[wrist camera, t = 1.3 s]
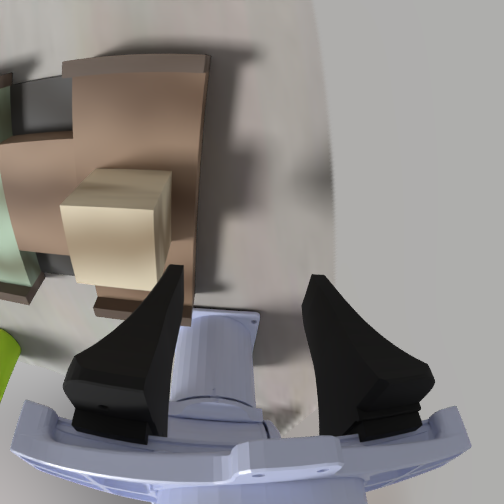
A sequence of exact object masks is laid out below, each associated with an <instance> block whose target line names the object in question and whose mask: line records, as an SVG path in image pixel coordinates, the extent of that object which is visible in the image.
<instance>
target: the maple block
mask: <svg viewBox="0 0 504 504" xmlns="http://www.w3.org/2000/svg"><path fill="white" fill-rule="evenodd" d="M171 191H172V171H161V170H138V169H95V170H94V171H93V172H92V173H91V174H90V175H89V176H87V177H86V178H85V179H84V180H83V181H82V182H81V184H80V185H79V186H78V187H77V188H76V189H75V190H74V191H73V192H72V193H71V194H70V195H69V196H68V197H67V198H66V199H65V200H64V201H63V202H62V203H61V205H60V210H61V216H62V221H63V226H64V231H65V236H66V241H67V245H68V250H69V254H70V258H71V262H72V266H73V270H74V274H75V278H76V281H77V283H81V284H90V285H98V286H107V287H116V288H125V289H135V290H145V291H151V290H152V289H153V288H154V286H155V285H156V284H157V282H158V281H159V279H160V278H161V277H162V274H163V270H164V266H165V263H166V259H167V255H168V252H169V248H170V244H171Z"/></svg>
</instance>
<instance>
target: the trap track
mask: <svg viewBox="0 0 504 504" xmlns="http://www.w3.org/2000/svg"><path fill="white" fill-rule="evenodd" d="M210 60H211V56H209V55H201V54H132V55H116V56H104V57H94V58H85V59H77V60H70V61H64V62H62V76H59V77H52V78H46V79H40V80H35V81H29V82H24V83H20V84H15V85H12V73H9V74H5V75H1V76H0V299H2V300H6V301H11V302H16V303H21V304H26V305H30V303H31V301H32V299H33V298H34V296H35V294H36V292H37V291H38V289H39V287H40V286H41V284H42V282H43V281H44V279H45V276H44V273H43V272H47V273H55V274H63V275H72V276H75V274H74V270H73V266H72V262H71V258H70V254H69V250H68V245H67V241H66V236H65V231H64V226H63V221H62V216H61V210H60V205H61V203H62V202H63V201H64V200H65V199H66V198H67V197H68V196H69V195H70V194H71V193H72V192H73V191H74V190H75V189H76V188H77V187H78V186H79V185H80V184H81V182H82V181H83V180H84V179H85V178H86V177H87V176H89V175H90V174H91V173H92V172H93V171H94V170H95V169H138V170H161V171H172V191H171V244H170V248H169V252H168V255H167V259H166V263H165V266H164V270H163V273H164V272H165V270H166V268H167V267H168V266H169V265H170V264H175V265H184V305H183V314H182V321H181V325H180V326H188V327H191V321H192V312H193V304H194V296H195V260H196V233H197V212H198V194H199V178H200V163H201V150H202V138H203V126H204V116H205V105H206V96H207V86H208V77H209V69H210ZM162 275H163V274H162ZM95 287H96V291H97V295H98V297H97V300H96V302H95V305H94V307H93V309H94V312H95V315H96V316H98V317H105V318H112V319H120V320H126V319H127V318H128V317H129V316H130V315H131V314H132V313H133V312H134V311H135V310H136V309H137V307H138V306H139V305H140V304H141V303H142V302H143V300H144V299H145V298H146V297H147V296H148V294H149V293H150V292H151V291H145V290H135V289H125V288H116V287H107V286H98V285H95Z"/></svg>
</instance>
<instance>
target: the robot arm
mask: <svg viewBox="0 0 504 504" xmlns="http://www.w3.org/2000/svg"><path fill="white" fill-rule="evenodd" d="M183 305H184V265H175V264H170V265H169V266H168V267H167V268H166V270H165V272H164V273H163V275H162V277H161V278H160V279H159V281H158V282H157V284H156V285H155V286H154V288H153V289H152V290H151V292H150V293H149V294H148V296H147V297H146V298H145V299H144V300H143V302H142V303H141V304H140V305H139V306H138V307H137V309H136V310H135V311H134V312H133V313H132V314H131V315H130V316H129V317H128V318H127V319H126V320H125V321H124V322H123V323H121V324H120V325H119V326H118V327H117V328H116V329H115V330H113V331H112V332H111V333H110V334H108V335H107V336H106V337H104V338H103V339H101V340H100V341H99V342H97V343H96V344H94V345H93V346H91V347H90V348H88V349H86V350H84V351H83V352H81V353H79V354H77V355H75V356H74V358H73V360H72V362H71V364H70V366H69V368H68V371H67V374H66V377H65V380H64V383H63V390H64V392H65V394H66V395H67V397H68V398H69V400H70V401H71V403H72V404H73V405H74V407H75V412H74V416H73V420H69V419H66V418H61V417H58V415H57V414H56V412H55V411H54V410H53V409H51V408H50V407H47V406H45V405H42V404H39V403H35V402H32V401H29V400H25V401H24V404H23V407H22V410H21V413H20V416H19V419H18V423H17V426H16V429H15V433H14V437H13V440H12V444H11V448H10V450H11V451H12V452H13V453H14V454H16V455H17V456H18V457H20V458H21V459H22V460H24V461H25V462H27V463H28V464H30V465H31V466H33V467H34V468H36V469H37V470H40V471H42V472H45V473H48V474H51V475H54V476H56V477H59V478H62V479H65V480H68V481H71V482H74V483H77V484H80V485H84V486H87V487H90V488H93V489H97V490H100V491H104V492H108V493H112V494H115V495H120V496H124V497H128V498H133V499H137V500H142V501H147V502H151V503H152V504H367V499H366V493H365V492H368V491H372V490H375V489H378V488H382V487H385V486H388V485H391V484H394V483H397V482H400V481H403V480H406V479H409V478H412V477H415V476H417V475H420V474H423V473H425V472H428V471H431V470H434V469H436V468H439V467H441V466H443V465H445V464H446V463H448V462H450V461H451V460H453V459H455V458H456V457H458V456H459V455H461V454H462V453H464V452H465V451H467V450H468V449H470V448H471V443H470V440H469V437H468V435H467V432H466V429H465V427H464V424H463V421H462V419H461V416H460V414H459V411H458V409H457V406H452V407H449V408H446V409H442V410H439V411H437V412H435V413H434V414H433V415H432V416H431V417H429V419H427V420H423V421H421V418H420V416H419V413H418V411H419V410H421V406H420V404H419V402H420V401H421V400H422V399H423V398H424V397H425V396H426V395H427V394H428V393H429V392H430V390H431V389H432V388H433V386H434V383H435V379H434V377H433V375H432V372H431V370H430V368H429V366H428V364H426V363H424V362H422V361H420V360H418V359H416V358H414V357H412V356H411V355H409V354H407V353H406V352H404V351H403V350H401V349H399V348H398V347H396V346H395V345H393V344H392V343H391V342H389V341H388V340H386V339H385V338H384V337H383V336H381V335H380V334H379V333H378V332H377V331H375V330H374V329H373V328H372V327H371V326H370V325H369V324H368V323H366V322H365V321H364V320H363V319H362V318H361V317H360V316H359V315H358V314H357V312H356V311H355V310H354V309H353V308H352V307H351V306H350V305H349V304H348V303H347V302H346V301H345V299H344V298H343V297H342V296H341V294H340V293H339V292H338V291H337V290H336V288H335V287H334V286H333V285H332V284H331V282H330V281H329V280H328V279H327V278H326V276H325V275H315V274H312V275H311V279H310V282H309V285H308V288H307V291H306V294H305V297H304V300H303V303H302V315H303V323H304V328H305V333H306V337H307V341H308V345H309V349H310V352H311V356H312V360H313V365H314V370H315V377H316V385H317V395H318V407H319V436H310V437H297V438H281V436H280V433H279V431H278V429H277V428H276V427H275V426H274V424H273V423H272V422H271V421H270V420H263V415H262V409H260V408H256V402H255V387H254V373H253V359H252V352H253V348H254V343H255V339H256V335H257V330H258V326H259V321H260V314H259V313H258V312H248V311H231V310H216V309H202V308H193V312H192V321H191V327H188V326H180V325H181V321H182V314H183ZM253 320H255V321H253ZM174 353H175V361H174V369H173V378H172V386H171V395H170V401H169V394H170V382H171V371H172V363H173V357H174Z"/></svg>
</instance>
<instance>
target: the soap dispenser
mask: <svg viewBox="0 0 504 504" xmlns="http://www.w3.org/2000/svg"><path fill="white" fill-rule="evenodd" d="M20 353H21V348H20V346H19V344H18V343H17V341H16V340H15V339H14V338H13V337H12V336H11V335H10V334H8V333H7V332H6V331H4V330H2V329H0V402H1V399H2V397H3V394H4V392H5V389H6V386H7V384H8V381H9V379H10V376H11V374H12V371H13V369H14V367H15V364H16V362H17V360H18V357H19V355H20Z"/></svg>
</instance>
